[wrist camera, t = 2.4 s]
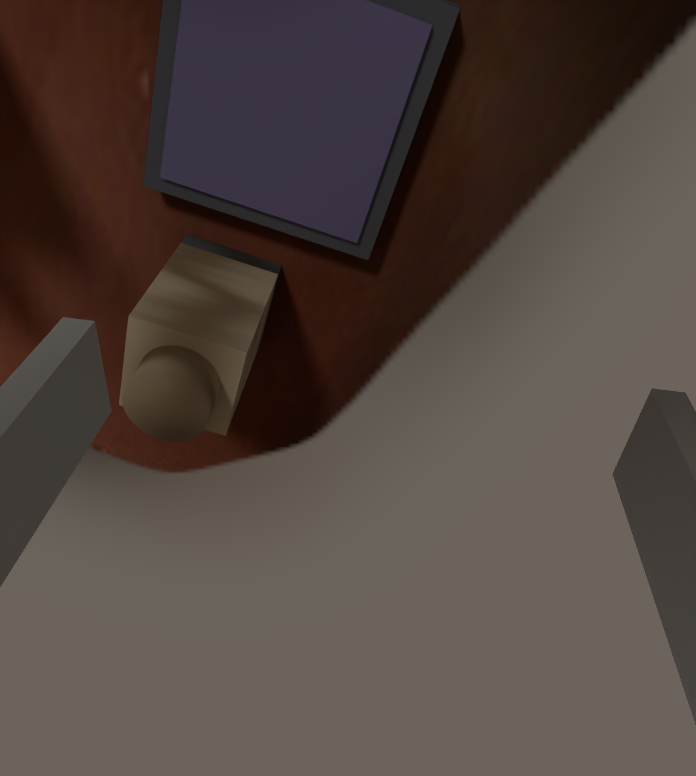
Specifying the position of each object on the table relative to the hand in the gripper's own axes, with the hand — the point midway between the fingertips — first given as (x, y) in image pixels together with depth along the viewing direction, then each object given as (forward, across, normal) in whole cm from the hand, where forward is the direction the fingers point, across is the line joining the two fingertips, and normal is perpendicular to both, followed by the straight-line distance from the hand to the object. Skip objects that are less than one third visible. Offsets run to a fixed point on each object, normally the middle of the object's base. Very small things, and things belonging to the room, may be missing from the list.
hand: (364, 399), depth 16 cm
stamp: (+18, -8, -7) cm, 21 cm away
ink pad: (+17, -5, +3) cm, 18 cm away
